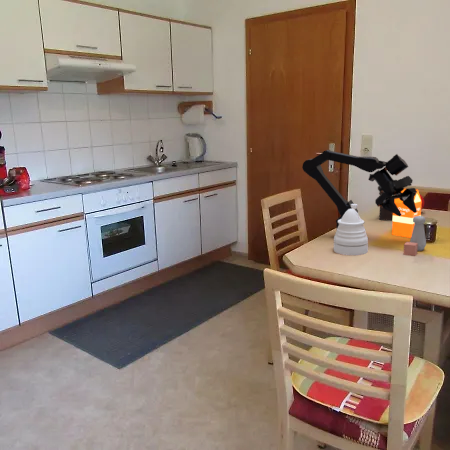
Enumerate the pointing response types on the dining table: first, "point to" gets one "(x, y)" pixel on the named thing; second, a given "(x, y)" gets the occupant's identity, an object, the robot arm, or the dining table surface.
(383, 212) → the coffee grinder
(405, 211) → the orange juice
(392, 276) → the dining table surface
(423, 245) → the salt shaker
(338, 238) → the honey pot
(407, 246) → the cube
